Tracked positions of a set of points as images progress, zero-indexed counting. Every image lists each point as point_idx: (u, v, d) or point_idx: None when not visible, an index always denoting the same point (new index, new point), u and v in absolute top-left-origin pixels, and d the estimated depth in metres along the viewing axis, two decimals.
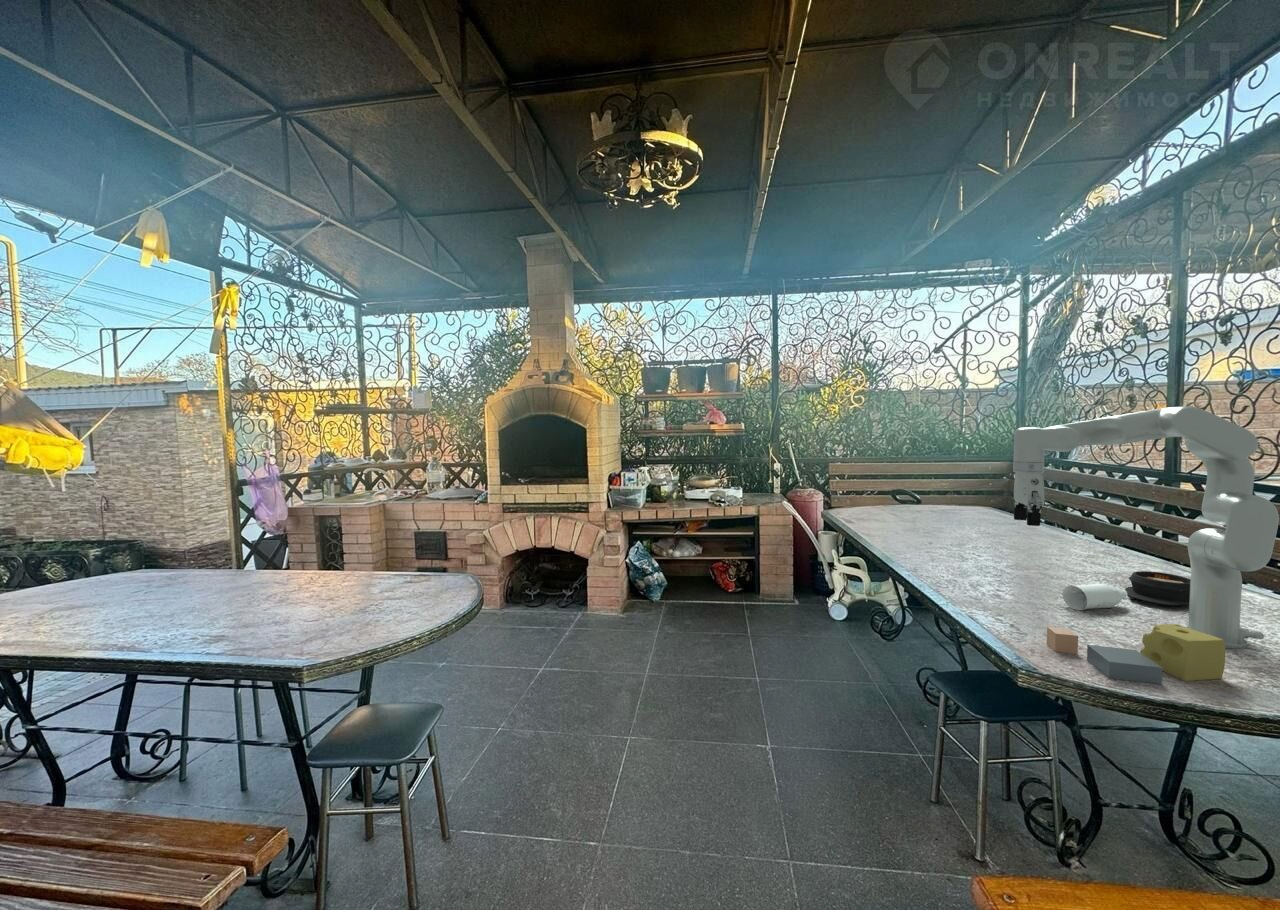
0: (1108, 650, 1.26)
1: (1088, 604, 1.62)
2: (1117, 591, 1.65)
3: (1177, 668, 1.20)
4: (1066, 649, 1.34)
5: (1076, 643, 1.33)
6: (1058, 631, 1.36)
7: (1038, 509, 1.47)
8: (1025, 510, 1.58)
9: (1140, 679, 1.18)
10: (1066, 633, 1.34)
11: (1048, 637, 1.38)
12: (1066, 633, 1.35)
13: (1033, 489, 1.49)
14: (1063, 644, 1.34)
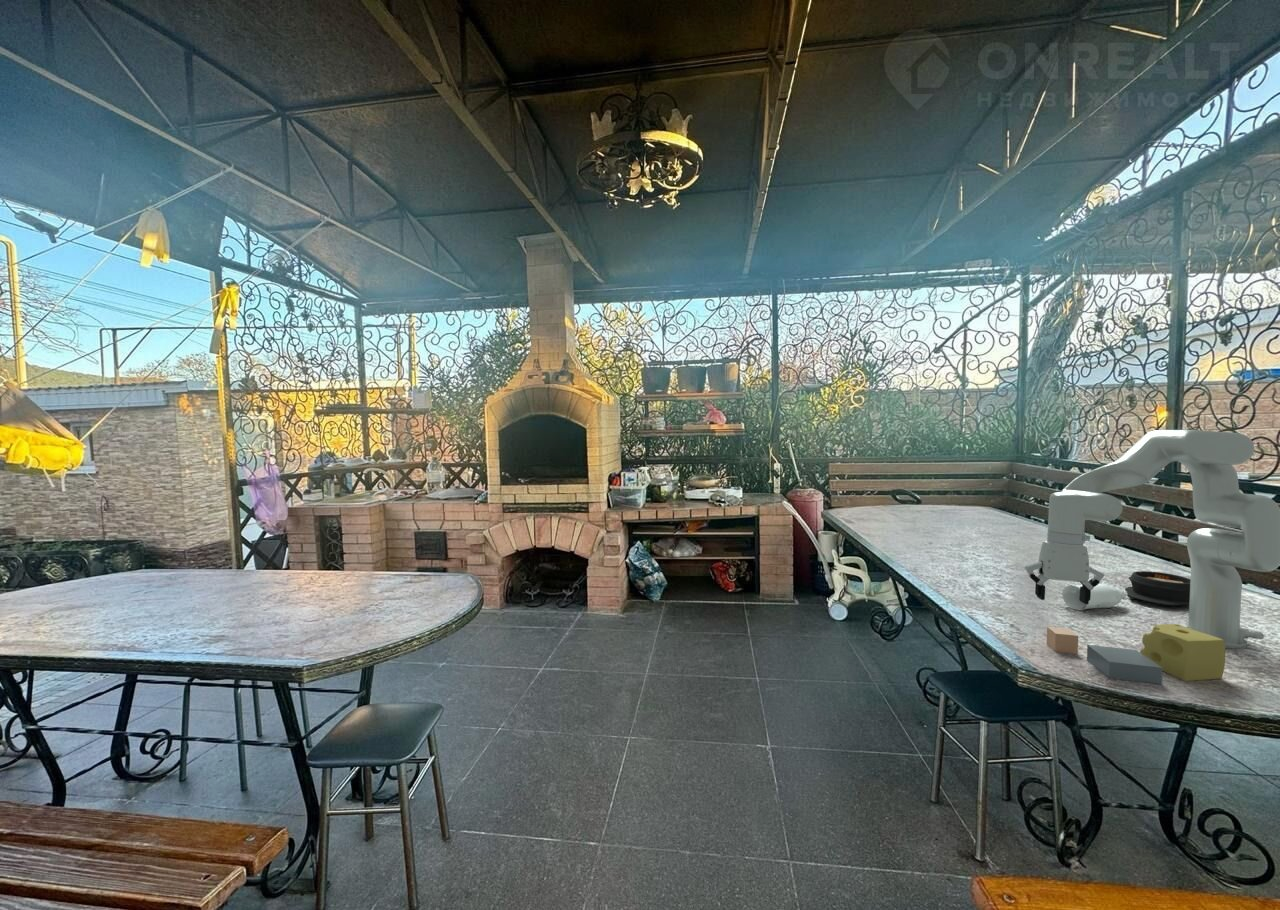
0: (1108, 650, 1.26)
1: (1088, 604, 1.62)
2: (1117, 591, 1.65)
3: (1177, 668, 1.20)
4: (1066, 649, 1.34)
5: (1076, 643, 1.33)
6: (1058, 631, 1.36)
7: None
8: None
9: (1140, 679, 1.18)
10: (1066, 633, 1.34)
11: (1048, 637, 1.38)
12: (1066, 633, 1.35)
13: None
14: (1063, 644, 1.34)
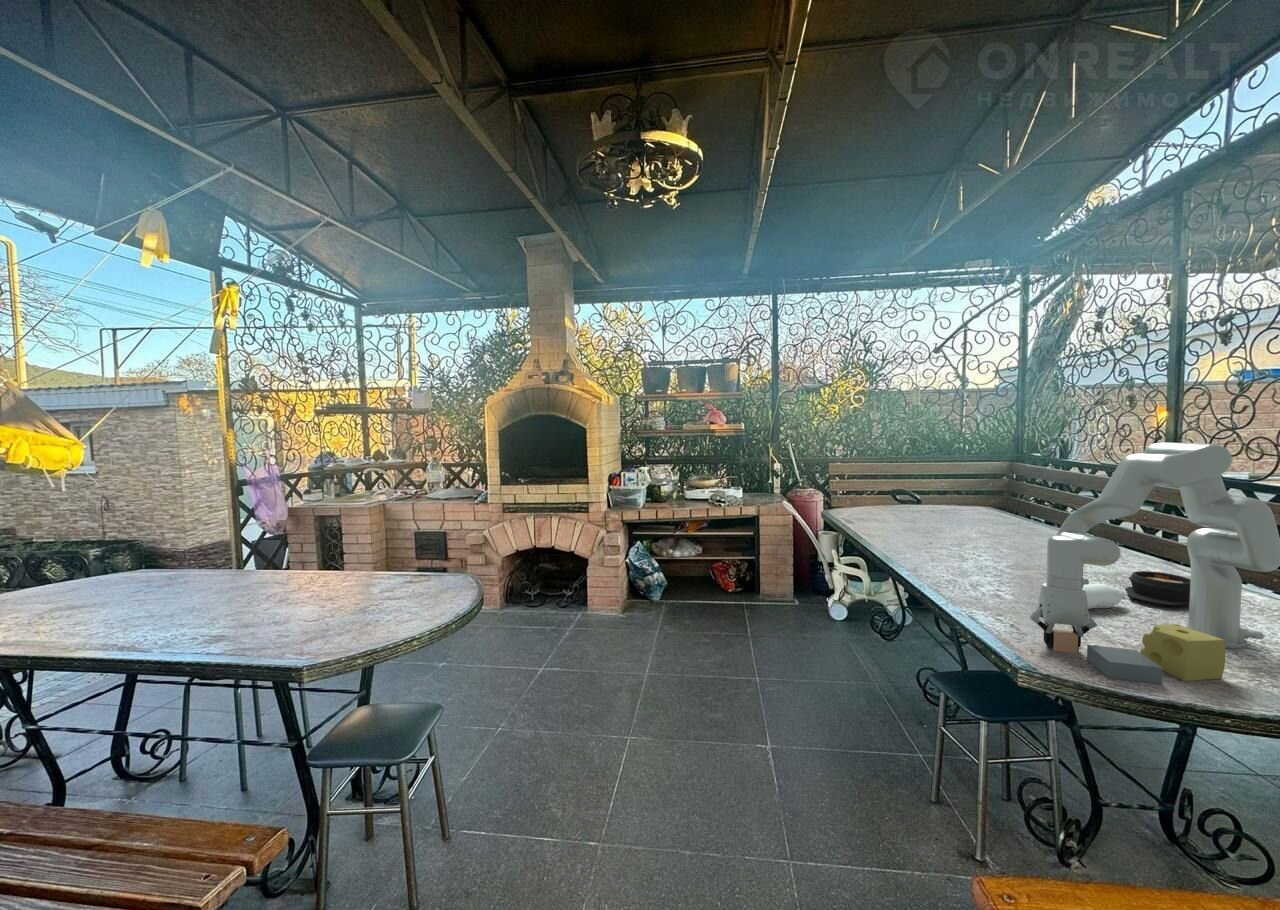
0: (1108, 650, 1.26)
1: (1088, 604, 1.62)
2: (1117, 591, 1.65)
3: (1177, 668, 1.20)
4: (1066, 649, 1.34)
5: (1076, 643, 1.33)
6: (1058, 631, 1.36)
7: None
8: None
9: (1140, 679, 1.18)
10: (1066, 633, 1.34)
11: None
12: (1066, 632, 1.35)
13: None
14: (1063, 644, 1.34)
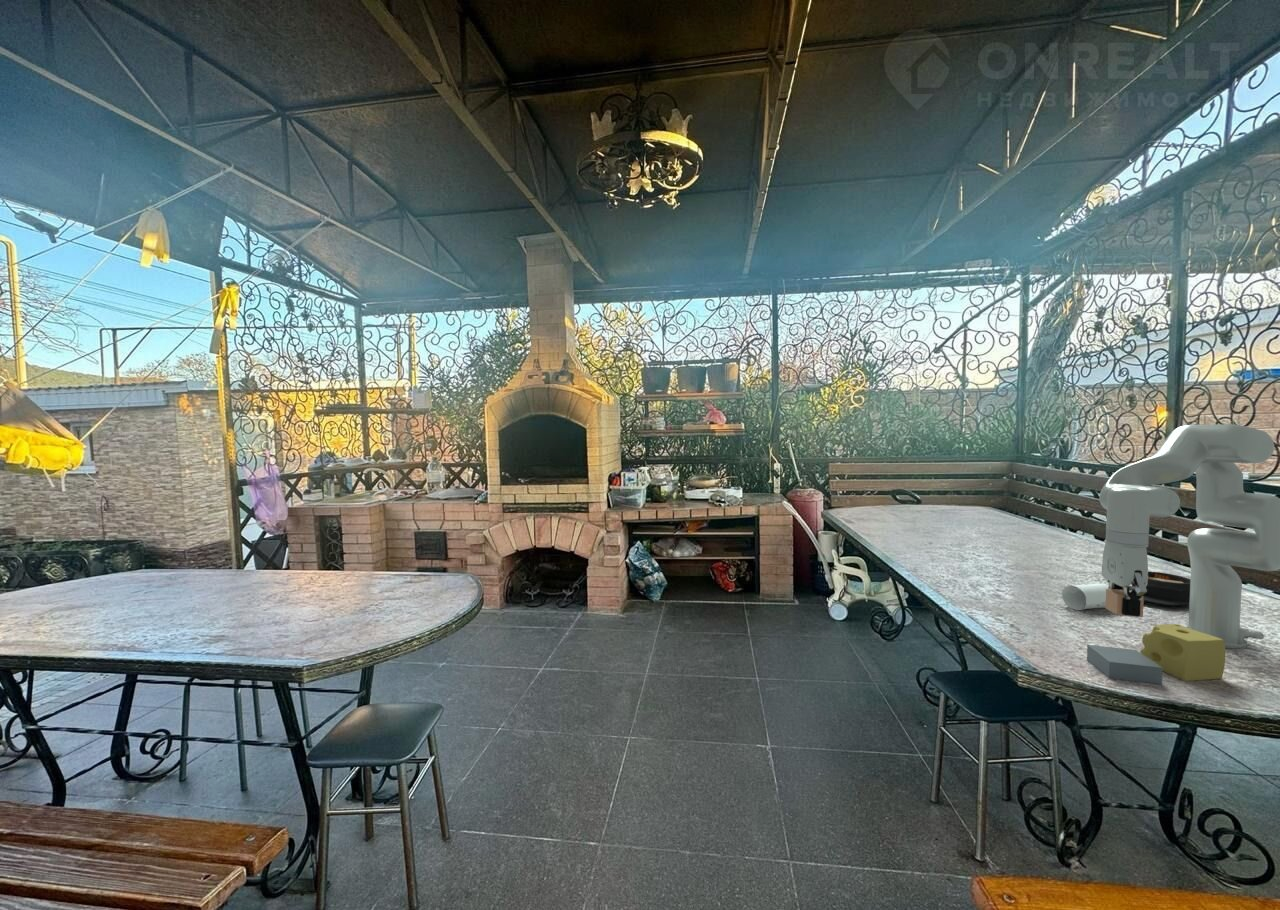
0: (1108, 650, 1.26)
1: (1087, 604, 1.62)
2: None
3: (1177, 668, 1.20)
4: None
5: None
6: None
7: None
8: None
9: (1140, 679, 1.18)
10: None
11: None
12: None
13: None
14: None
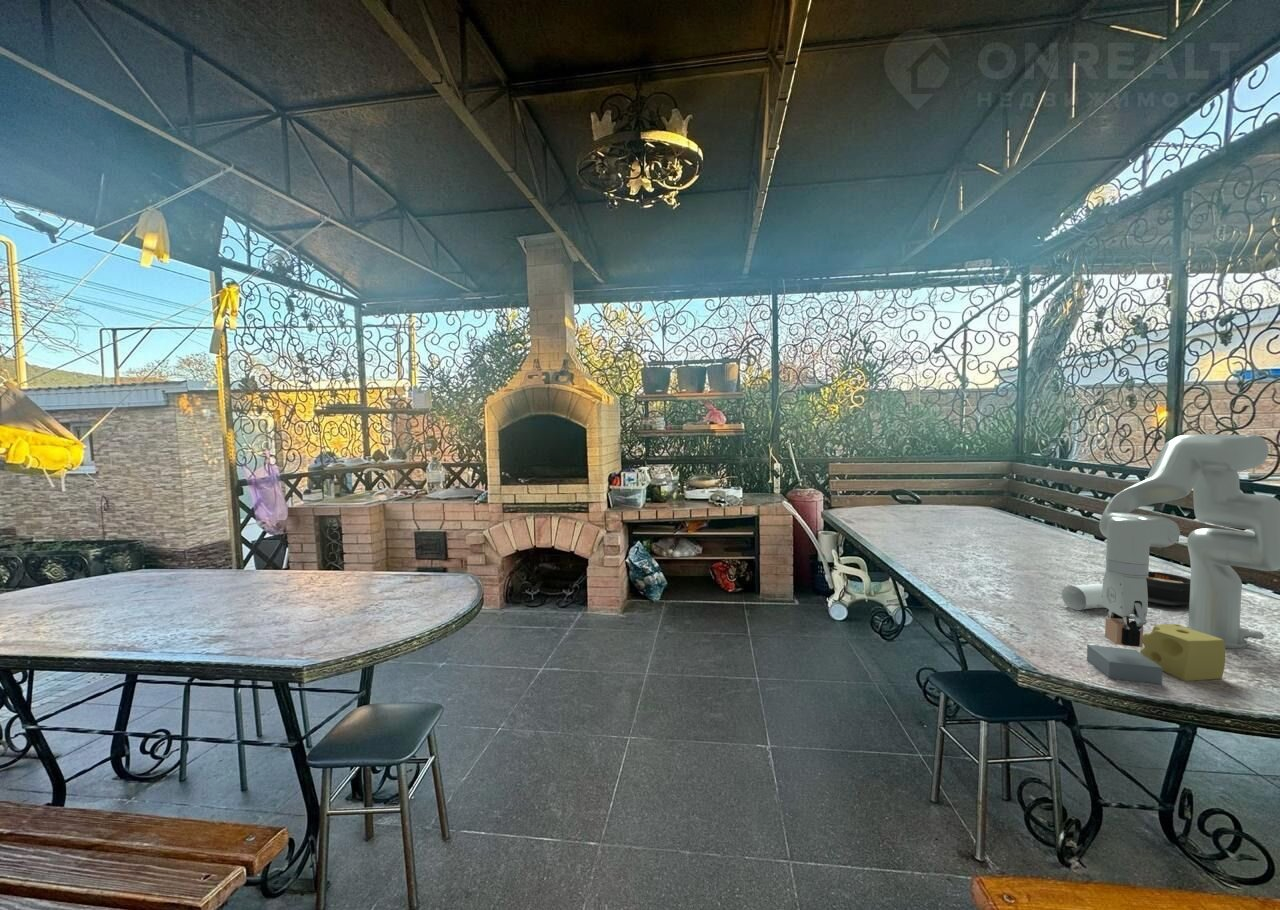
0: (1108, 650, 1.26)
1: (1087, 604, 1.62)
2: None
3: (1177, 668, 1.20)
4: None
5: None
6: None
7: None
8: None
9: (1140, 679, 1.18)
10: None
11: None
12: None
13: None
14: None
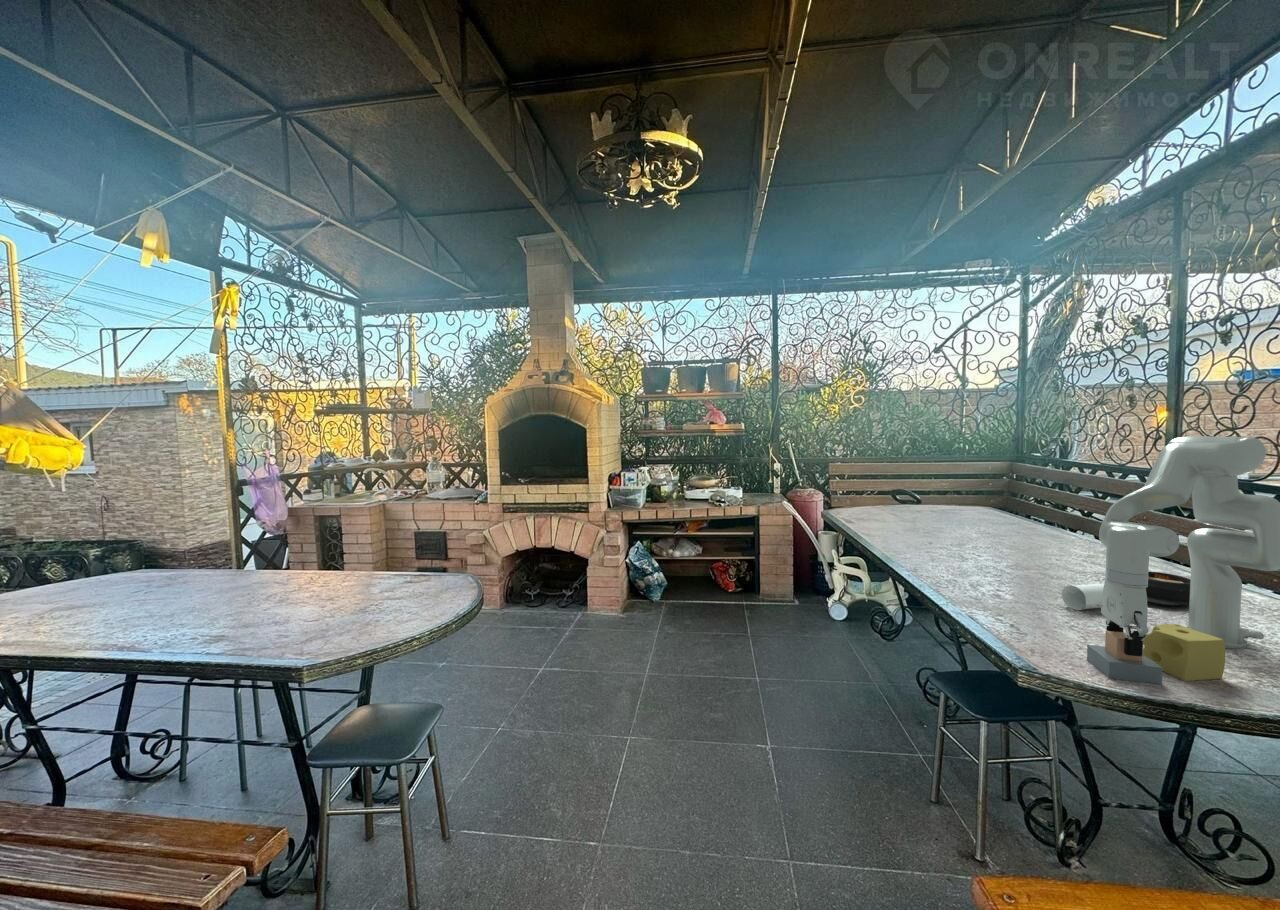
0: None
1: (1087, 604, 1.62)
2: None
3: (1177, 668, 1.20)
4: None
5: None
6: None
7: None
8: None
9: (1140, 679, 1.18)
10: None
11: (1122, 649, 1.21)
12: None
13: None
14: None
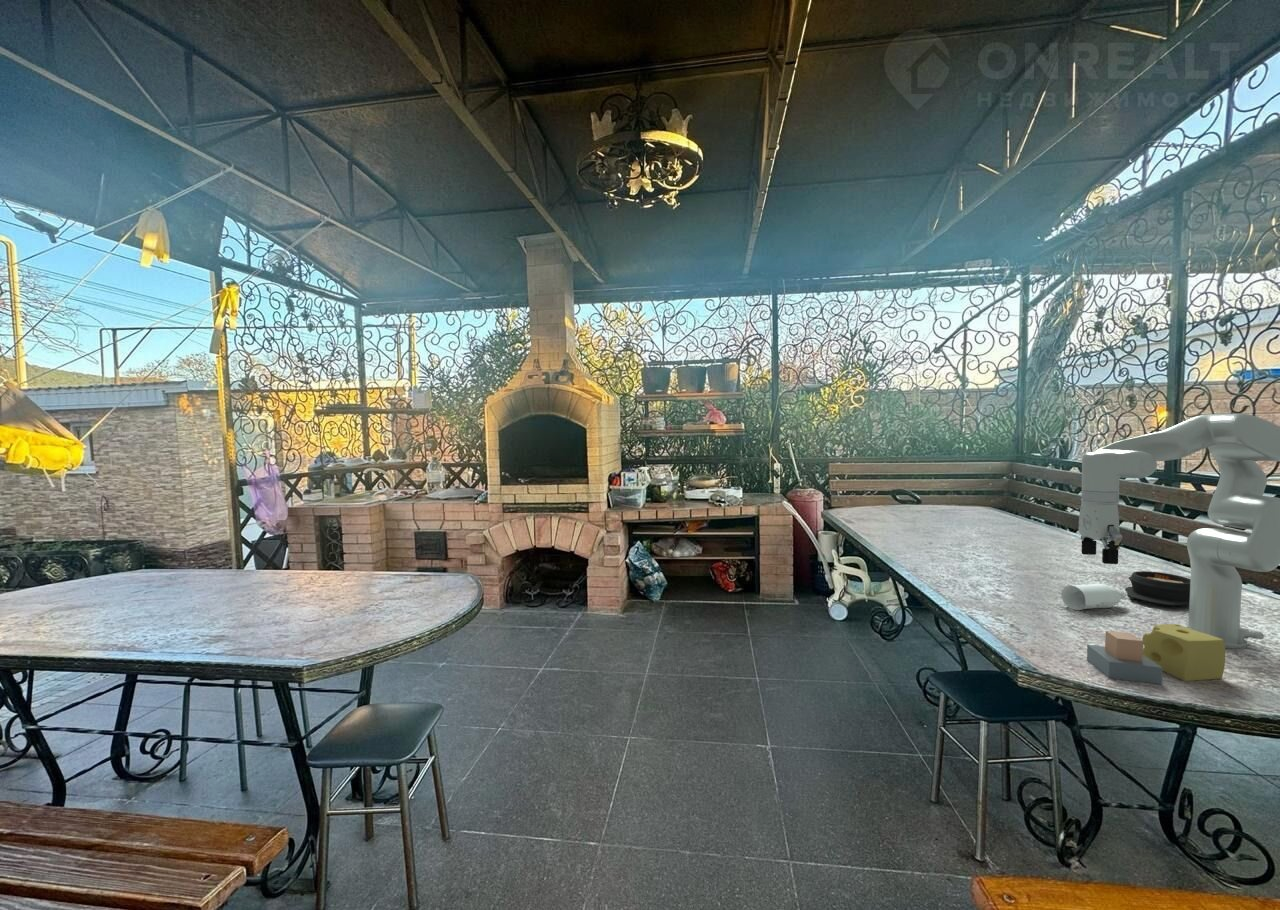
0: None
1: (1087, 604, 1.62)
2: (1116, 591, 1.65)
3: (1177, 668, 1.20)
4: None
5: None
6: (1129, 637, 1.22)
7: None
8: None
9: (1140, 679, 1.18)
10: (1131, 636, 1.23)
11: (1122, 649, 1.21)
12: (1130, 635, 1.23)
13: None
14: None
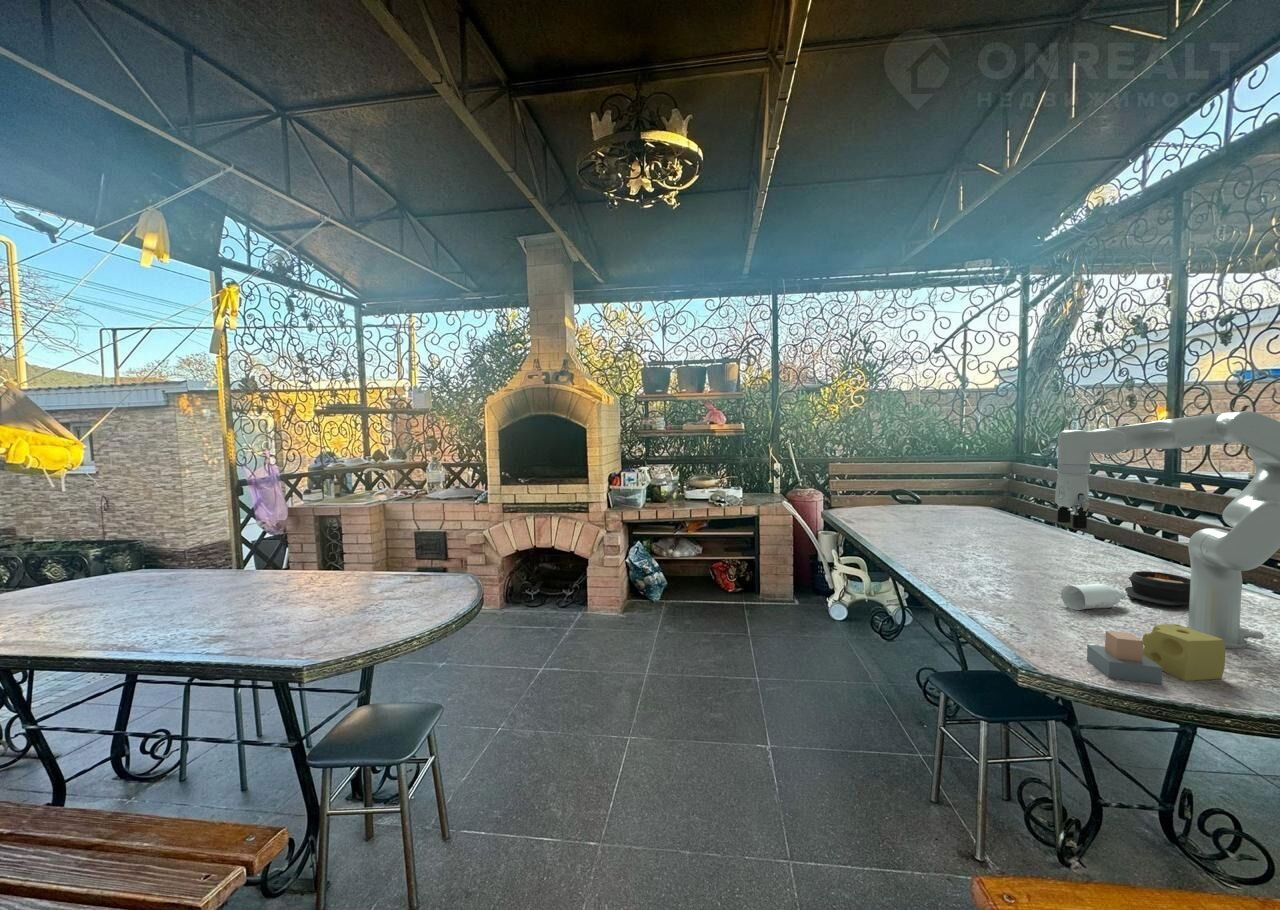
0: None
1: (1086, 604, 1.62)
2: (1116, 591, 1.65)
3: (1177, 668, 1.20)
4: None
5: None
6: (1129, 637, 1.22)
7: None
8: None
9: (1140, 679, 1.18)
10: (1131, 636, 1.23)
11: (1122, 649, 1.21)
12: (1130, 635, 1.23)
13: None
14: None
